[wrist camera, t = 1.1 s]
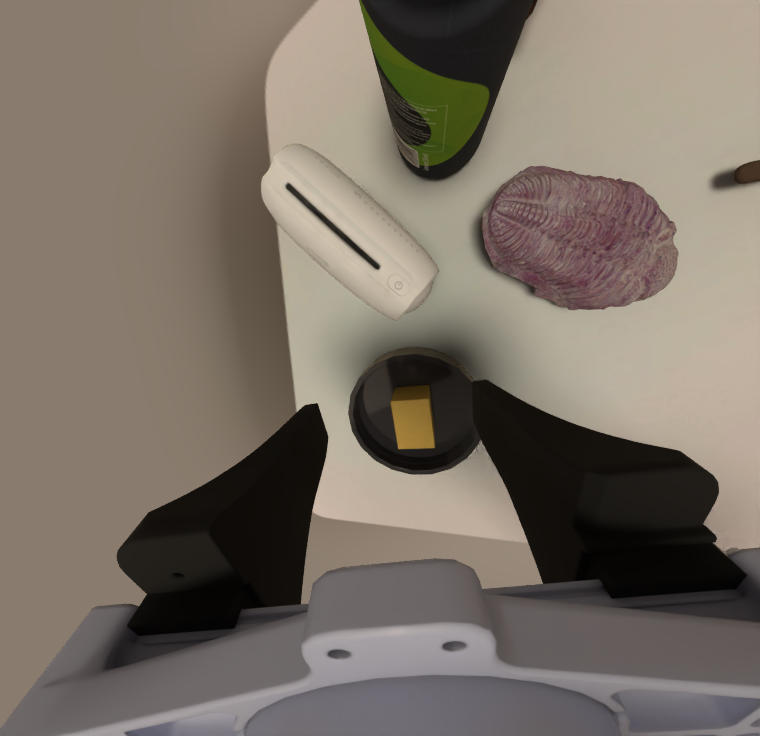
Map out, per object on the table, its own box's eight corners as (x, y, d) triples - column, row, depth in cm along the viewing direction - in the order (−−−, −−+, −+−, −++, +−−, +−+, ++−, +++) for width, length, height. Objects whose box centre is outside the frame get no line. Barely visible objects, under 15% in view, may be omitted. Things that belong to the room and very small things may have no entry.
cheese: (434, 429, 28) (434, 448, 25) (401, 431, 28) (398, 449, 25) (429, 384, 26) (429, 398, 23) (394, 387, 27) (390, 401, 24)
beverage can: (482, 174, 20) (592, -42, 6) (400, 187, 22) (343, 30, 8) (484, 67, 18) (648, -572, 5) (393, 89, 20) (303, -361, 6)
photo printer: (443, 272, 23) (456, 270, 12) (410, 310, 25) (391, 342, 13) (352, 187, 22) (268, 95, 11) (323, 232, 24) (223, 193, 12)
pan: (482, 456, 28) (487, 473, 26) (366, 459, 31) (361, 475, 29) (476, 339, 25) (481, 346, 22) (345, 354, 27) (336, 362, 25)
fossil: (502, 156, 20) (526, 117, 15) (689, 223, 19) (776, 205, 15) (455, 267, 23) (462, 264, 18) (616, 328, 22) (669, 342, 17)
